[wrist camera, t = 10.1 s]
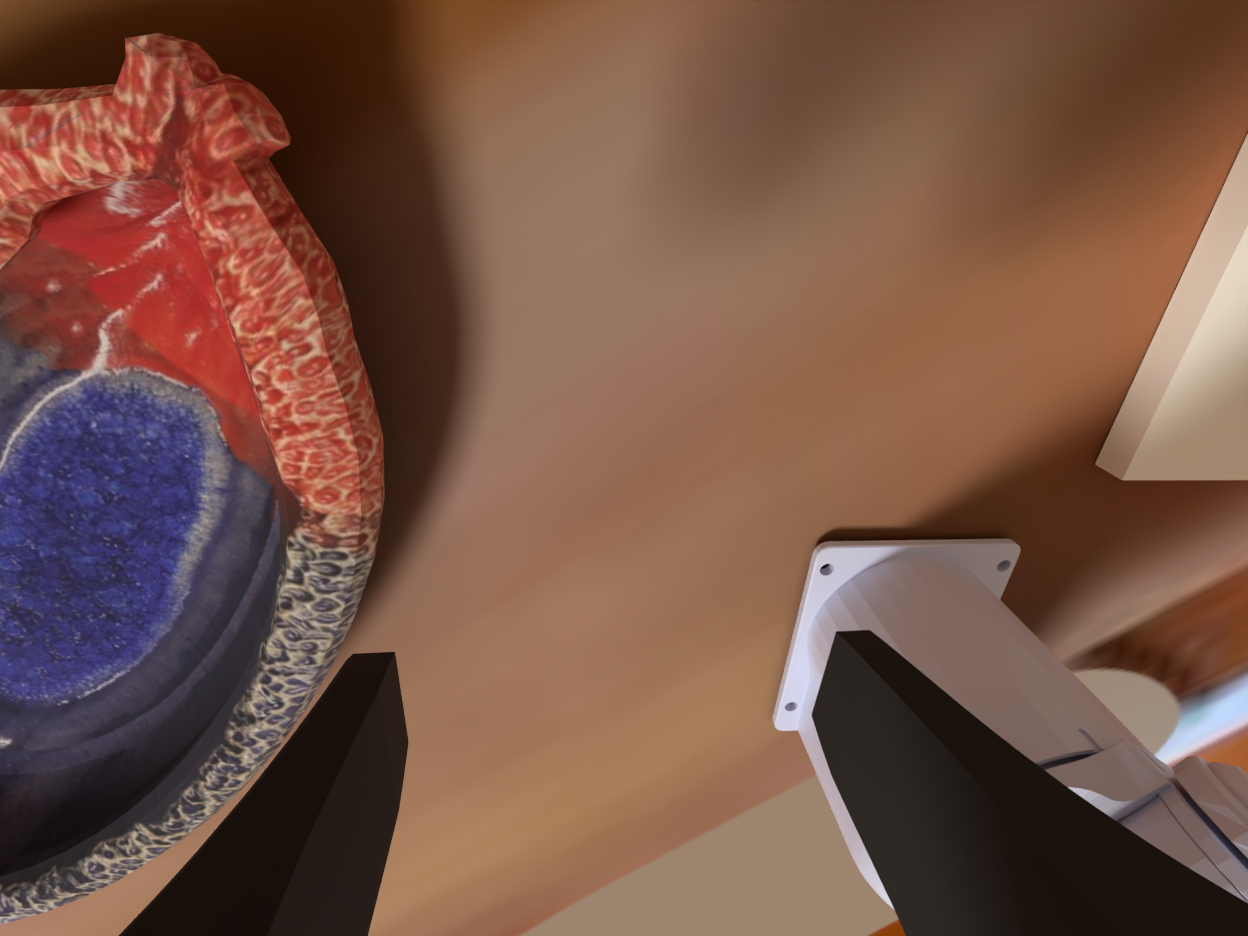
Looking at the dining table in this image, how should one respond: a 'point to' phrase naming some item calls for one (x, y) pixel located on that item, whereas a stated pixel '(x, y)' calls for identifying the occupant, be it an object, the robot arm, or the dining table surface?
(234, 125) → the dish
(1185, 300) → the holder board
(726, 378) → the dining table surface
